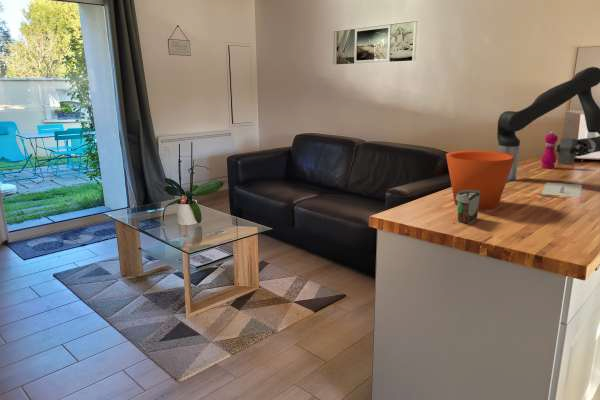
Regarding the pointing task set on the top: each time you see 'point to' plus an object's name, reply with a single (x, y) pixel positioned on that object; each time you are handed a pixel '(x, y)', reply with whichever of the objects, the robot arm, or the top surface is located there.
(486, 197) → the flowerpot
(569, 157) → the charcoal link
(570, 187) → the plate
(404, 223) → the top surface
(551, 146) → the pepper mill
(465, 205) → the food container
